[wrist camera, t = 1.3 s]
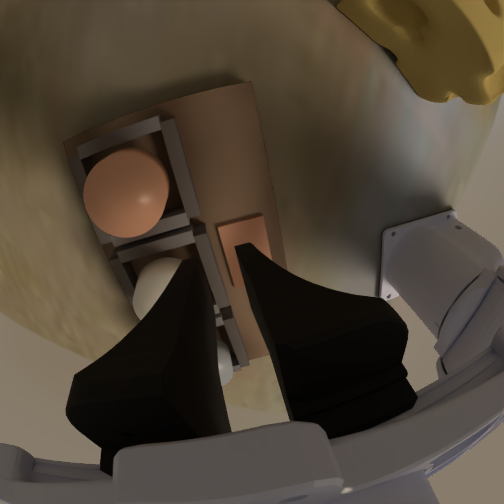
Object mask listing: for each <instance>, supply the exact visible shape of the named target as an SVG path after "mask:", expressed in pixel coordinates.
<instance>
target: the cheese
mask: <svg viewBox="0 0 504 504" xmlns="http://www.w3.org/2000/svg"><path fill="white" fill-rule="evenodd" d="M336 7H337V8H338V9H339V10H340V11H341V12H342V13H343V14H344V15H346V16H347V17H348V18H349V19H350V20H351V21H352V22H354V23H355V24H356V25H357V26H358V27H359V28H360V29H361V30H363V31H364V32H365V33H366V34H367V35H368V36H369V37H370V38H371V39H372V40H373V41H375V42H376V43H378V44H380V45H381V46H383V47H385V48H387V49H389V50H390V51H391V52H393V53H394V54H395V56H396V57H397V60H396V66H397V67H398V69H399V70H400V71H401V73H402V74H403V75H404V76H405V78H406V79H407V80H408V81H409V83H410V84H411V86H412V87H413V89H414V90H415V92H416V93H417V94H418V96H419V97H421V98H423V99H425V100H428V101H431V102H438V103H443V102H448V101H449V100H451V99H453V98H455V97H458V96H460V97H461V98H462V99H463V100H464V101H465V102H466V103H469V104H474V105H487V104H490V103H493V102H494V101H495V100H496V99H497V98H498V97H499V96H500V95H501V94H503V93H504V0H341V1H340V2H339V3H338V4H337V5H336Z"/></svg>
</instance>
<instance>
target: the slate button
mask: <svg viewBox="0 0 504 504" xmlns="http://www.w3.org/2000/svg"><path fill="white" fill-rule="evenodd" d="M217 351H218V366H219V374H220V380H221V385H222V386H224V385H226V384H227V383H228V382H229V381H230V380H231V378H232V376H233V367H232V361H231V356H230V350H229V348H228V346H227V345H226V344H225V343H224V342H223V341H221V340H219V339H217Z"/></svg>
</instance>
